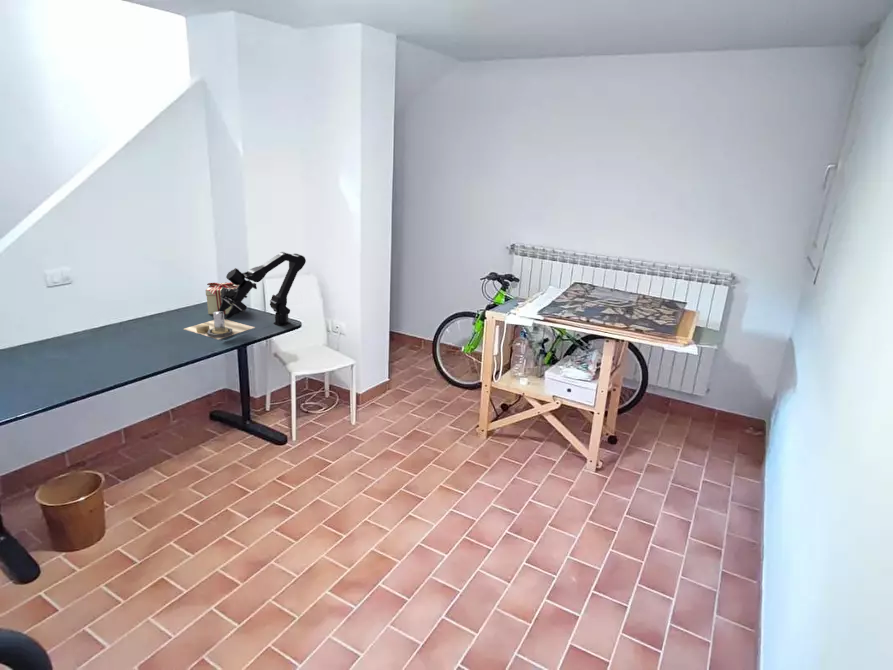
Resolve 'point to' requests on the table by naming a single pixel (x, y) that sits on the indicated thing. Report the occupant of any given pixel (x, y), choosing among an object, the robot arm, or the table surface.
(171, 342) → the table surface
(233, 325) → the board
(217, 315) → the silver round piece
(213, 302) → the gift box
